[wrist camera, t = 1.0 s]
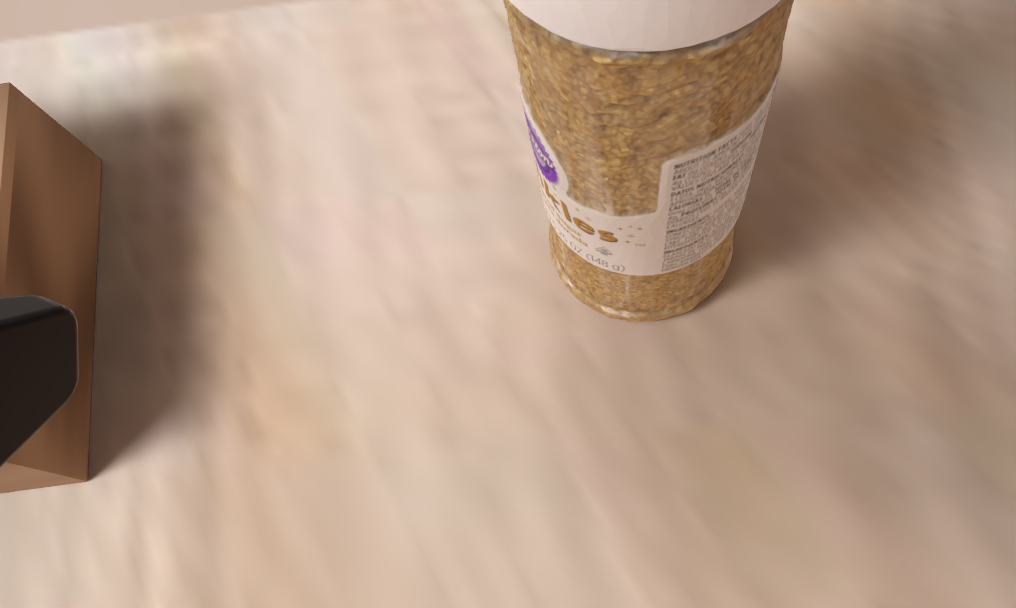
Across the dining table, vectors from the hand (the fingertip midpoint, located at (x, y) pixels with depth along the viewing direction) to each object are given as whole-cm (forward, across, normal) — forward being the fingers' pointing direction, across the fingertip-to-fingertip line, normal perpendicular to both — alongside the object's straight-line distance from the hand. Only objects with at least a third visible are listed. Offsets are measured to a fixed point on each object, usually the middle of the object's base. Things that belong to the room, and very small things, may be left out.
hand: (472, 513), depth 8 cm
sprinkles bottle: (+15, +1, +3) cm, 16 cm away
